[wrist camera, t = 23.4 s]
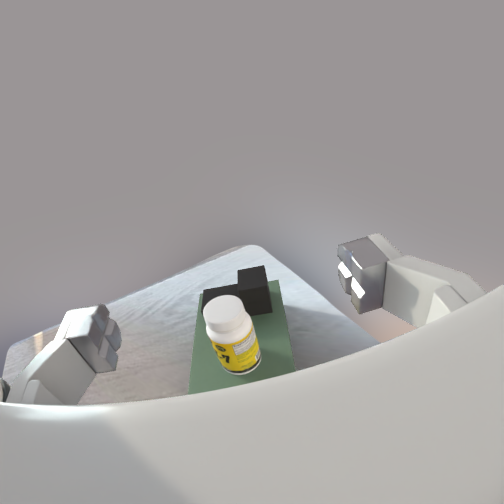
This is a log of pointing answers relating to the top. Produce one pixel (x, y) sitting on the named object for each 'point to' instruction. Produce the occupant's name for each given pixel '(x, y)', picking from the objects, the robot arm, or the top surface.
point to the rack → (270, 342)
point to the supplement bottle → (232, 334)
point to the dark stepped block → (246, 291)
